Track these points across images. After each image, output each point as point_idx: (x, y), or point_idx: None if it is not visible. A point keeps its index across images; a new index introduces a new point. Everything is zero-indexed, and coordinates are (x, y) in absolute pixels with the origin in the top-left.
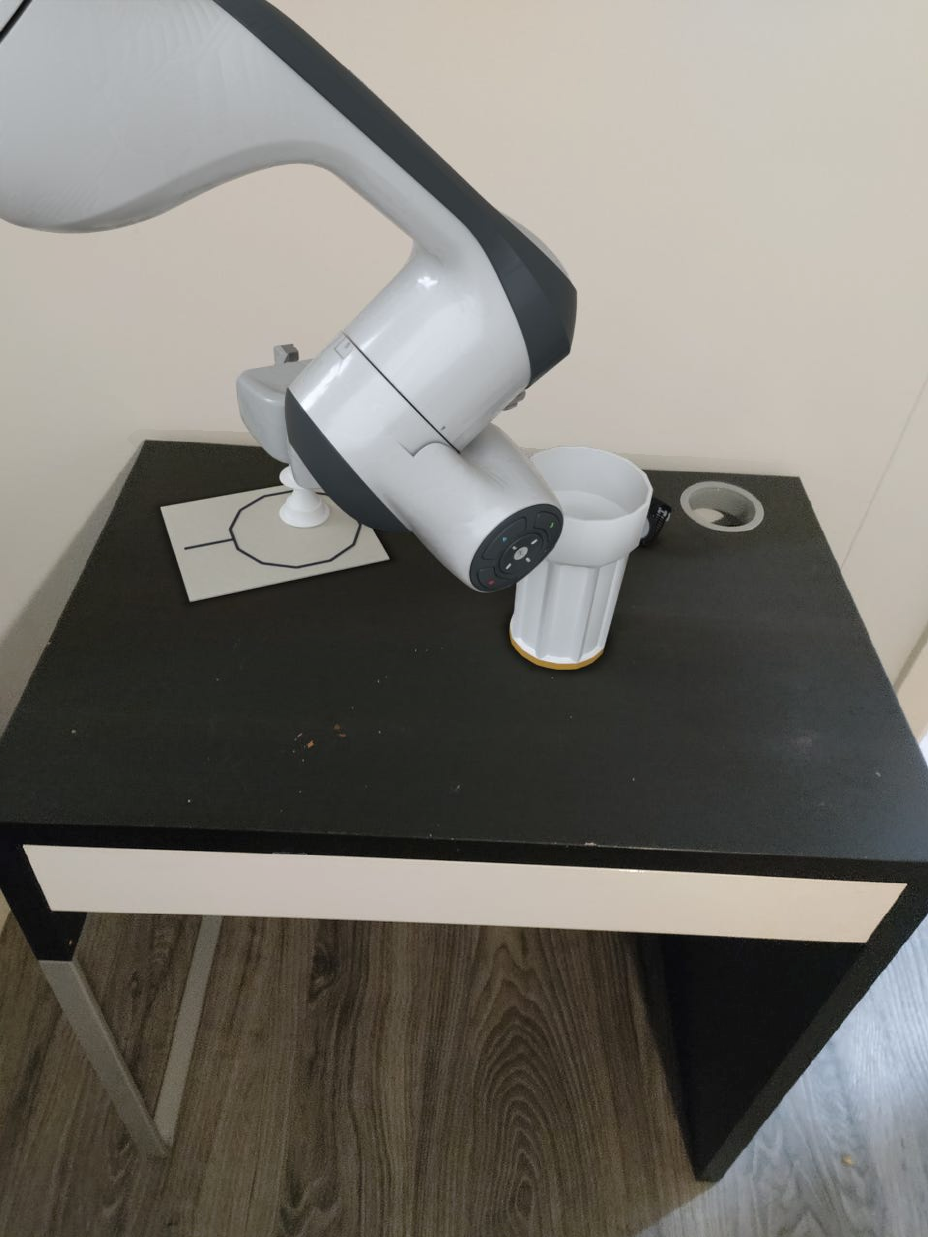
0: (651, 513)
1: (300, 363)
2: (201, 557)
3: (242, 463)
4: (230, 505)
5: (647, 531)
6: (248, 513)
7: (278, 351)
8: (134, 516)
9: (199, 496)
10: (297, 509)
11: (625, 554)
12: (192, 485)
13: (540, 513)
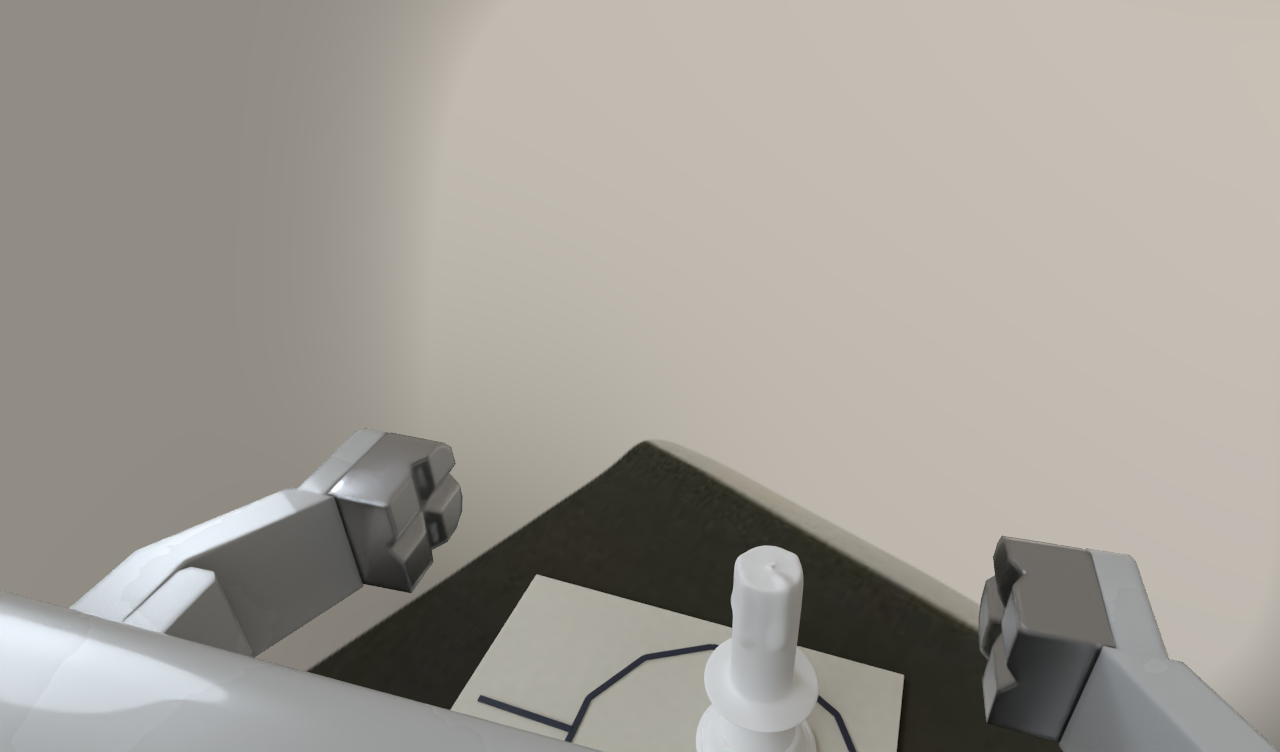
0: None
1: (49, 670)
2: None
3: (736, 546)
4: (638, 635)
5: None
6: (652, 674)
7: (319, 467)
8: (489, 571)
9: (613, 582)
10: (725, 742)
11: None
12: (623, 552)
13: None
